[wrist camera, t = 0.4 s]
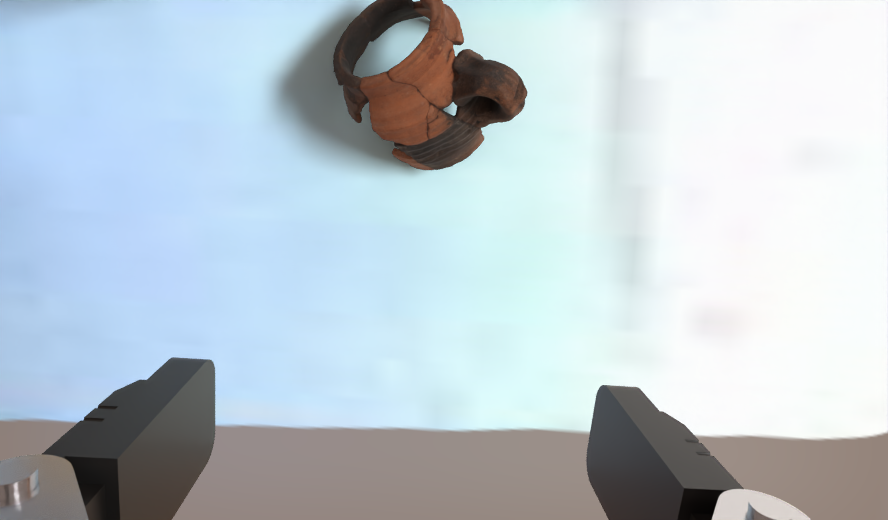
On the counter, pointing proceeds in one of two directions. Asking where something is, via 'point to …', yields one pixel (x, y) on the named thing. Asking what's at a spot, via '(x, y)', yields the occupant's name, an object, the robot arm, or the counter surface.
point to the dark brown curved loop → (426, 86)
